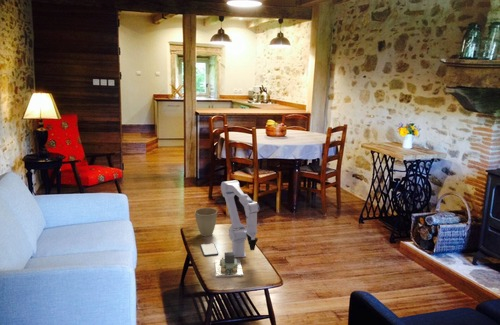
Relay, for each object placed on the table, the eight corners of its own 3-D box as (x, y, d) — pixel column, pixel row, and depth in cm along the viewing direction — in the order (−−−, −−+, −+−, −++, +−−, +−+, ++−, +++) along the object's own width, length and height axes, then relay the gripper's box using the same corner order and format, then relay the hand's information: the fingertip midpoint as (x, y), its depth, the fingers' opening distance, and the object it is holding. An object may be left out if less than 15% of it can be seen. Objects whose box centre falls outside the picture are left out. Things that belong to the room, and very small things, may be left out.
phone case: (219, 256, 244) (214, 245, 259) (218, 253, 243) (214, 242, 258) (203, 257, 241) (200, 246, 256) (203, 255, 241) (199, 244, 256)
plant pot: (193, 231, 280) (193, 208, 277) (215, 229, 284) (215, 207, 281) (196, 239, 266) (196, 215, 263) (219, 237, 270) (219, 214, 267)
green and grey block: (221, 259, 230) (221, 250, 229) (235, 259, 231) (235, 249, 230) (222, 268, 220) (222, 258, 219) (237, 268, 221) (237, 257, 219)
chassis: (215, 262, 234) (214, 254, 233) (239, 261, 236) (239, 253, 235) (216, 277, 216) (216, 269, 216) (243, 276, 218) (243, 268, 217)
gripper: (243, 219, 234) (242, 242, 237) (245, 228, 220) (245, 252, 223) (255, 219, 235) (255, 241, 238) (258, 228, 221) (258, 252, 224)
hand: (251, 247), depth 230 cm, fingers open, 7 cm apart
